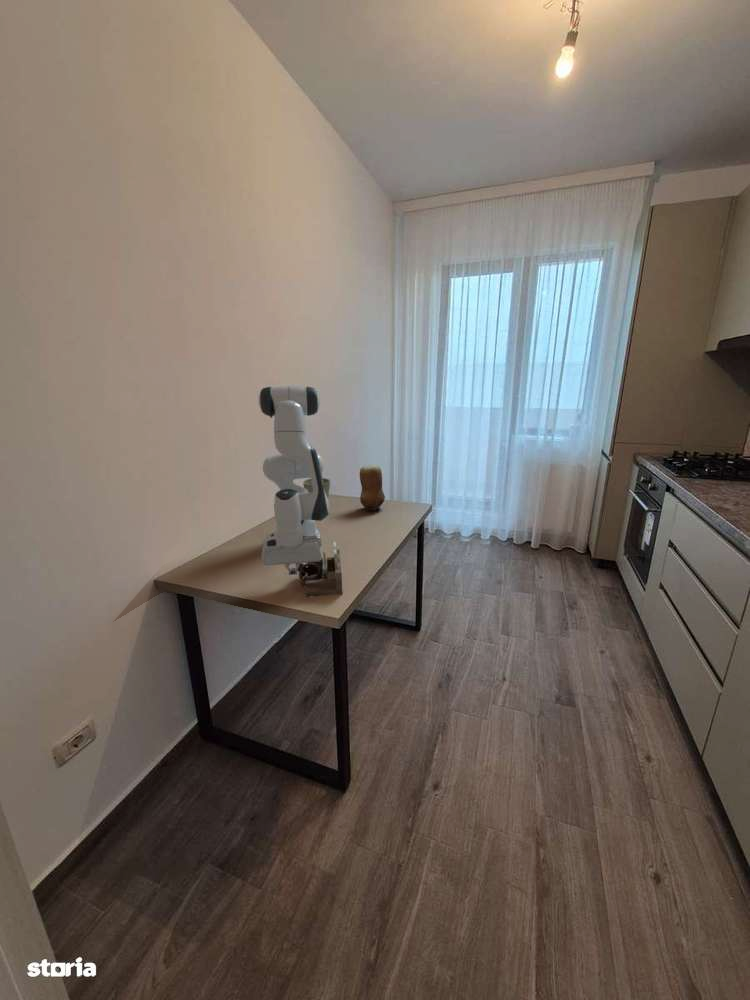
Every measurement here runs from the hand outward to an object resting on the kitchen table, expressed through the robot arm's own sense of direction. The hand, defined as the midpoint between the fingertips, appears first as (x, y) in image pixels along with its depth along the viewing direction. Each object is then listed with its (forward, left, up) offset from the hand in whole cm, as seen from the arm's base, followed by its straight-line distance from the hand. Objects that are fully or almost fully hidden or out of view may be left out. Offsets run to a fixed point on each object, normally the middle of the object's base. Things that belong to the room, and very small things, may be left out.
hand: (293, 573), depth 140 cm
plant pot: (-85, +8, -4) cm, 86 cm away
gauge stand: (0, +12, -4) cm, 12 cm away
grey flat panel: (0, +12, -4) cm, 13 cm away
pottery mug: (-1, +5, -4) cm, 7 cm away
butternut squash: (-78, +37, -4) cm, 87 cm away
